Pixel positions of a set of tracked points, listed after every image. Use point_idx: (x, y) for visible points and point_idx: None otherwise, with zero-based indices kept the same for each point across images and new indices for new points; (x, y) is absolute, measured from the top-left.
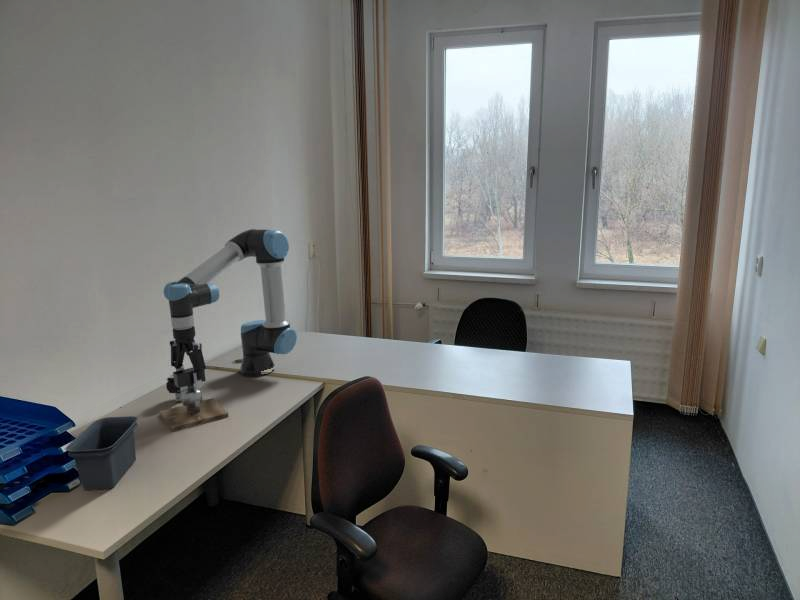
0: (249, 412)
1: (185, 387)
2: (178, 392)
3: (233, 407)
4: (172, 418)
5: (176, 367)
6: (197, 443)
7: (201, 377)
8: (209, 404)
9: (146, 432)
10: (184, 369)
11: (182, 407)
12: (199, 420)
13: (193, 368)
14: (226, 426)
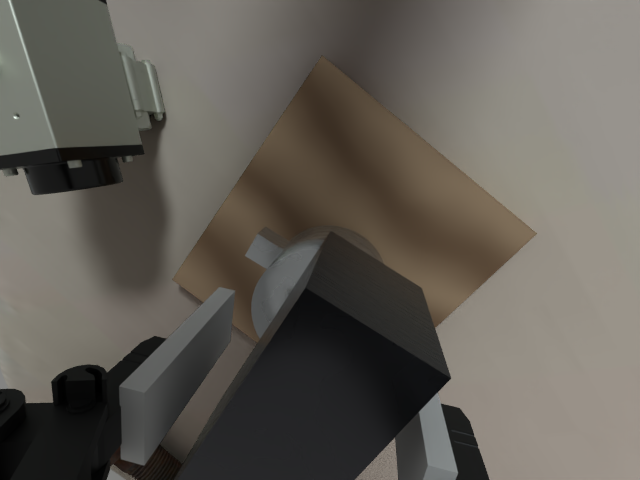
0: (637, 150)
1: (117, 81)
2: (133, 155)
3: (496, 108)
4: None
5: (98, 474)
6: (513, 462)
7: (469, 438)
8: (360, 154)
9: None
10: (206, 445)
11: (242, 223)
12: None
13: (296, 406)
14: (570, 325)
